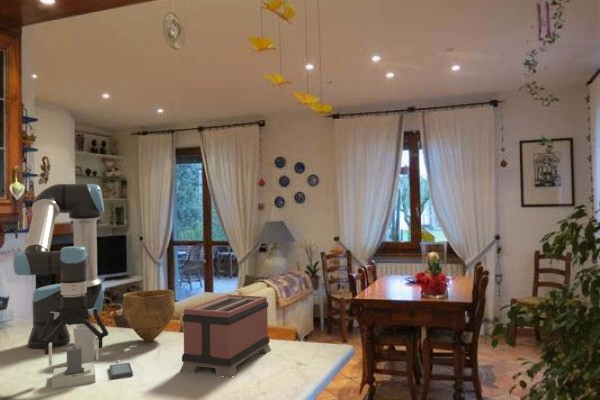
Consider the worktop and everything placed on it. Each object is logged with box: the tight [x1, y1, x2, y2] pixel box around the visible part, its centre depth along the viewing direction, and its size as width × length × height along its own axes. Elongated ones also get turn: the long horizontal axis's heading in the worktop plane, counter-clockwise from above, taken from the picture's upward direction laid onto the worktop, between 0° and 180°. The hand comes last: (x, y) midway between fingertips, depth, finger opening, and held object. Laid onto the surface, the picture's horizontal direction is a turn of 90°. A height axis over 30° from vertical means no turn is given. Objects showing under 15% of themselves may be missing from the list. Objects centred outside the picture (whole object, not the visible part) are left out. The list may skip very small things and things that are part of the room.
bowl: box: [122, 289, 176, 342], centre depth 198 cm, size 21×20×20 cm
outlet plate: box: [51, 362, 96, 389], centre depth 155 cm, size 12×12×3 cm
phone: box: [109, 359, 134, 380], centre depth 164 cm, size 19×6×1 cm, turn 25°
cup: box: [72, 322, 98, 363], centre depth 175 cm, size 8×8×12 cm
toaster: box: [179, 293, 272, 379], centre depth 173 cm, size 19×34×21 cm, turn 159°
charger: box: [66, 345, 83, 375], centre depth 155 cm, size 4×4×10 cm
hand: (74, 361), depth 155 cm, fingers open, 13 cm apart
